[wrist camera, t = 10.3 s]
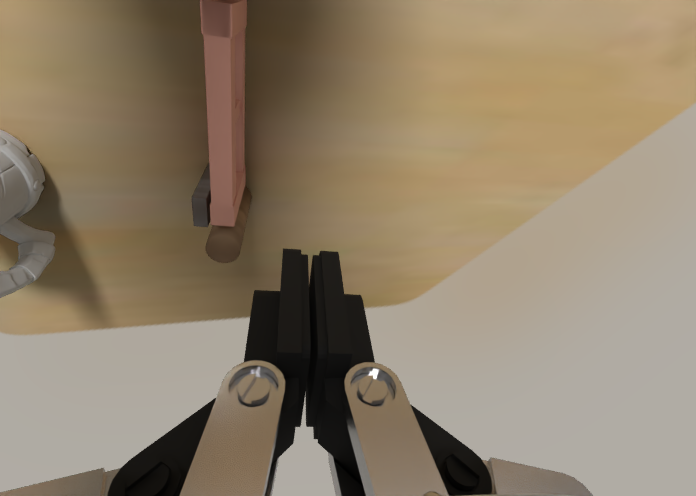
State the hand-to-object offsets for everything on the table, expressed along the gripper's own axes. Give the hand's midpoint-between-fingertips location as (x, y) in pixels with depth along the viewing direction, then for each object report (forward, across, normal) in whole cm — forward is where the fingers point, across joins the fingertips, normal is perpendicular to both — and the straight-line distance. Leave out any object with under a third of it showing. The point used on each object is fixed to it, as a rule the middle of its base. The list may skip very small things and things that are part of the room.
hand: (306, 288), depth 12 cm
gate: (+22, +5, +1) cm, 23 cm away
